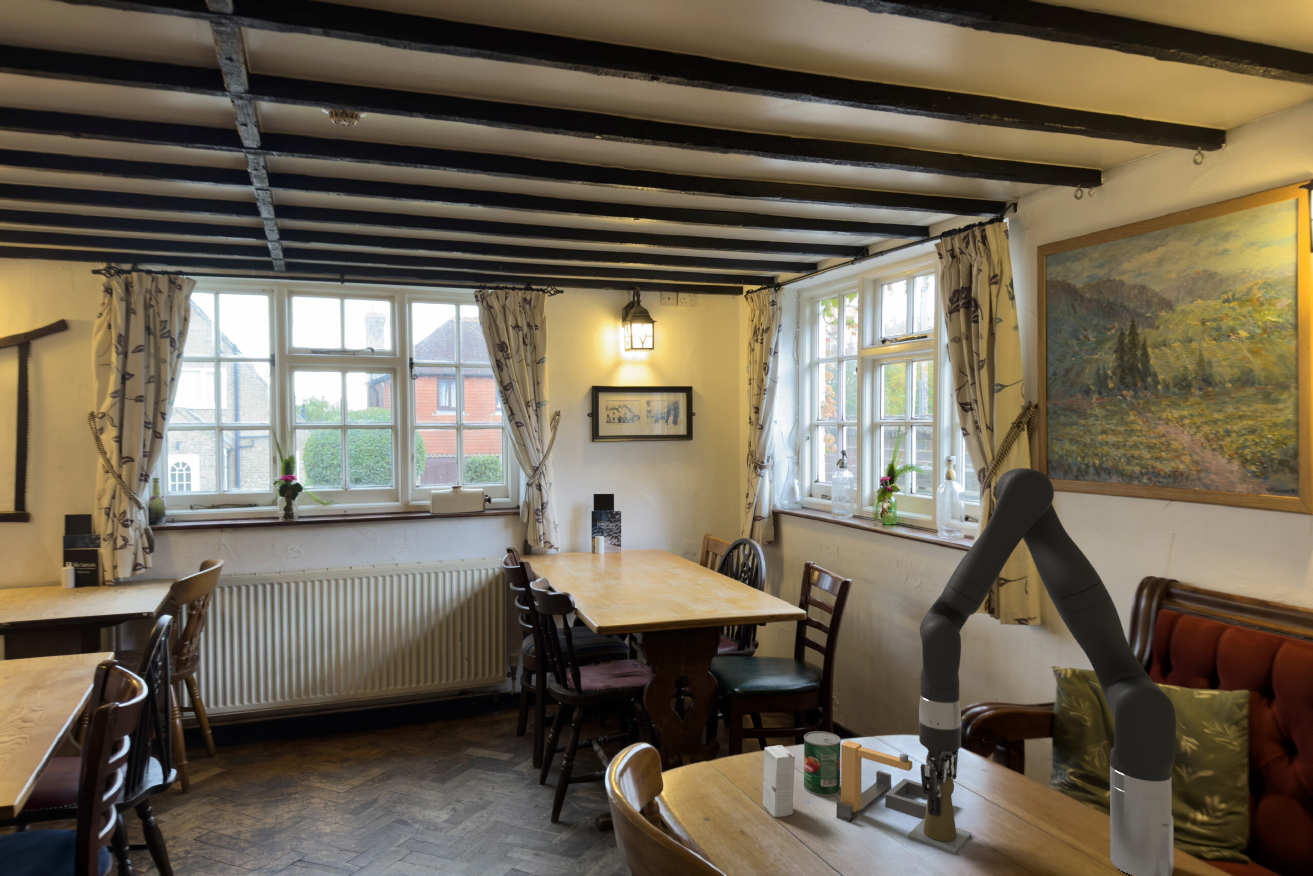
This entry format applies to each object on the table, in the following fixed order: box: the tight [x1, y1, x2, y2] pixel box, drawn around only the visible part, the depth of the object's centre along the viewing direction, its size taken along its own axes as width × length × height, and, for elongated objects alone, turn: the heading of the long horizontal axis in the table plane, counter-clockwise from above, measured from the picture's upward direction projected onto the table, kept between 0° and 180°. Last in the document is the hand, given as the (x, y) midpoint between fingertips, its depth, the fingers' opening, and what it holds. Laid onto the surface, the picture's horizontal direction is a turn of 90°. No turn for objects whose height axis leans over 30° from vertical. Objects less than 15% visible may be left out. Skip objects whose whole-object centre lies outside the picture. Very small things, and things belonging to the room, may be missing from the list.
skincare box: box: [762, 744, 796, 818], centre depth 154 cm, size 6×4×12 cm
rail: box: [836, 770, 892, 823], centre depth 158 cm, size 3×20×3 cm, turn 140°
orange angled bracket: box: [840, 740, 913, 812], centre depth 150 cm, size 14×3×14 cm, turn 50°
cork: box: [923, 775, 957, 841], centre depth 144 cm, size 6×6×11 cm
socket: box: [884, 778, 928, 820], centre depth 157 cm, size 10×10×2 cm
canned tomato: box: [803, 730, 842, 797], centre depth 164 cm, size 8×8×11 cm
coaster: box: [907, 818, 972, 856], centre depth 144 cm, size 9×9×1 cm
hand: (940, 809), depth 144 cm, fingers open, 5 cm apart
